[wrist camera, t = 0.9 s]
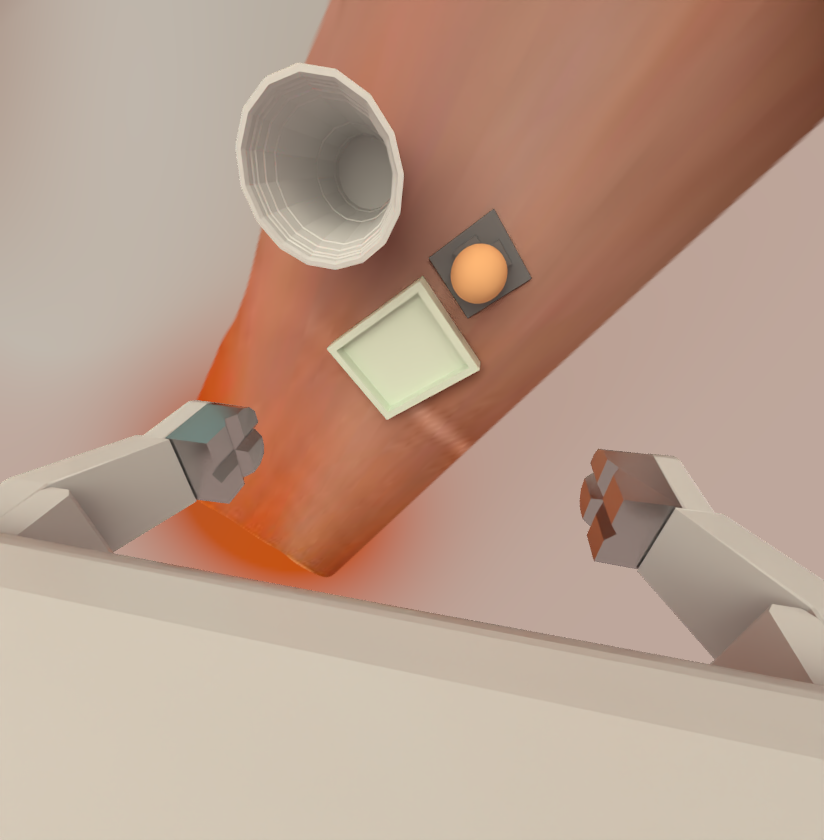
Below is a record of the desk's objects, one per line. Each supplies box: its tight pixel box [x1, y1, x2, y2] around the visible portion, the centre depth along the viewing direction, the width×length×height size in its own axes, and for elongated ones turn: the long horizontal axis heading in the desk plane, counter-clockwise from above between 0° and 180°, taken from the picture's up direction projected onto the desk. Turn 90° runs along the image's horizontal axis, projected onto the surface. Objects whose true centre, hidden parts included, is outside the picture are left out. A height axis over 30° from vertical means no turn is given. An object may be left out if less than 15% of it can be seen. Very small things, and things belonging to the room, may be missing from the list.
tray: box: [327, 276, 480, 420], centre depth 41 cm, size 13×11×2 cm
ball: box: [451, 244, 507, 304], centre depth 33 cm, size 5×5×5 cm
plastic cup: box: [235, 63, 404, 270], centre depth 28 cm, size 11×11×12 cm
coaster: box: [429, 209, 531, 318], centre depth 35 cm, size 7×7×1 cm
